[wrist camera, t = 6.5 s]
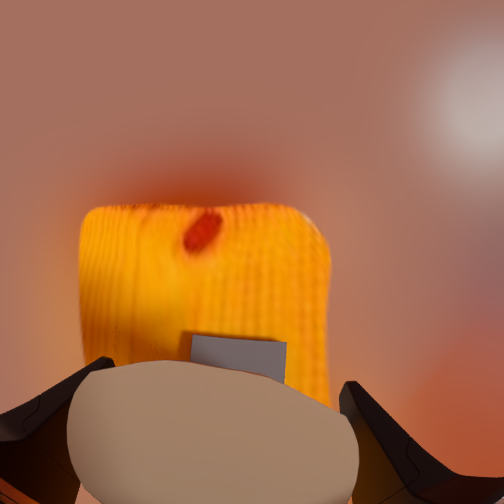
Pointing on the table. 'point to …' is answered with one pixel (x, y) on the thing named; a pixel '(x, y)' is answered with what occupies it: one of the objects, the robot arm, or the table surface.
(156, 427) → the handle
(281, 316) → the table surface
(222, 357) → the plate
